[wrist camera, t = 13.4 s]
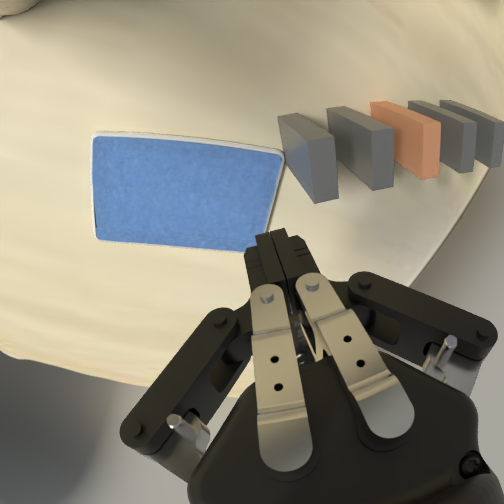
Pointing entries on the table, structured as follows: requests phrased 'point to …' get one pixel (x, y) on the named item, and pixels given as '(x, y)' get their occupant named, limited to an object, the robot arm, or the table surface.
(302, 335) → the supplement bottle
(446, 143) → the domino
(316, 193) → the domino
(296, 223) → the table surface
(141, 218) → the blue flat board
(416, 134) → the domino
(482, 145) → the domino
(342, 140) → the domino
